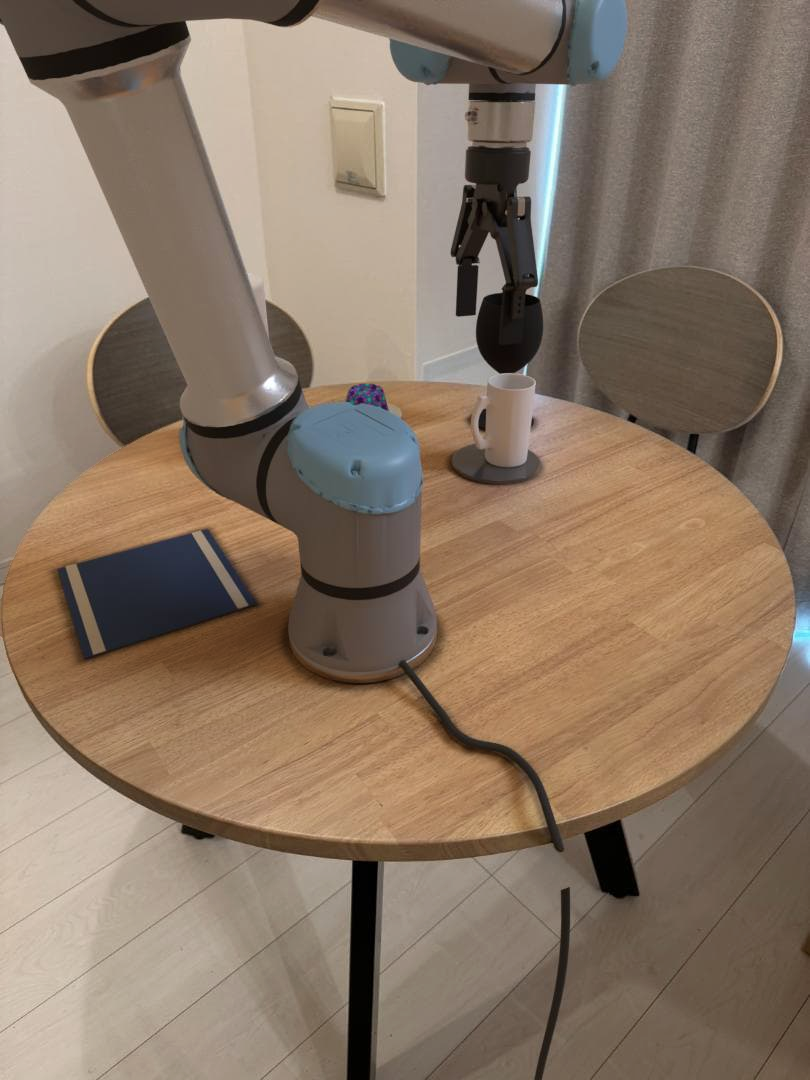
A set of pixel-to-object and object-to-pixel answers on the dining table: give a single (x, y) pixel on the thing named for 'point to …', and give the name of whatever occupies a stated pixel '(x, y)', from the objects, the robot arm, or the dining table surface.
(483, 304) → the wine glass
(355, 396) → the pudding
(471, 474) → the coaster
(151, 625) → the placemat
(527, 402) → the mug
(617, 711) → the dining table surface
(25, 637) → the dining table surface
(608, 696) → the dining table surface
